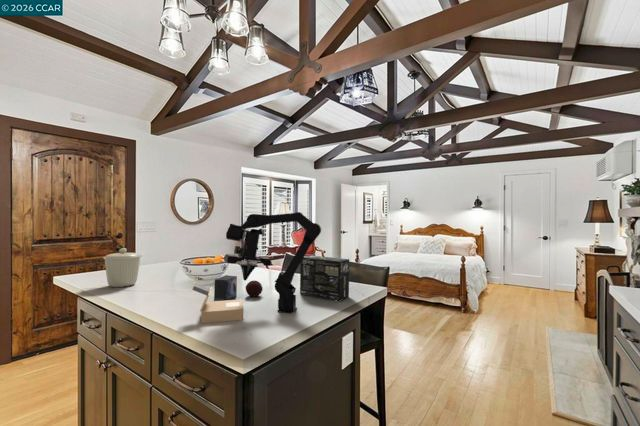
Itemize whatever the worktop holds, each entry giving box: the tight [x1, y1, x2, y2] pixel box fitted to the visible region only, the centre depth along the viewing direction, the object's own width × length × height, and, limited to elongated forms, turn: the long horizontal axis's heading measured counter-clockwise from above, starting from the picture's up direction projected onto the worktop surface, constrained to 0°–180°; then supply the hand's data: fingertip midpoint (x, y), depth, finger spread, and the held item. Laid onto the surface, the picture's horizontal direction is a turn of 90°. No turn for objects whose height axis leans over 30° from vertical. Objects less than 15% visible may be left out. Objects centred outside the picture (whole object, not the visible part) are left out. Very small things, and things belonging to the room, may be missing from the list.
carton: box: [200, 299, 244, 324], centre depth 119 cm, size 15×14×4 cm
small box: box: [213, 274, 238, 301], centre depth 142 cm, size 11×6×10 cm, turn 168°
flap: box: [192, 283, 213, 312], centre depth 116 cm, size 6×13×6 cm
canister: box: [102, 247, 142, 288], centre depth 170 cm, size 18×18×21 cm
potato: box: [245, 280, 263, 297], centre depth 148 cm, size 8×9×8 cm
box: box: [299, 254, 350, 302], centre depth 149 cm, size 23×10×19 cm, turn 58°
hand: (244, 280), depth 126 cm, fingers closed
